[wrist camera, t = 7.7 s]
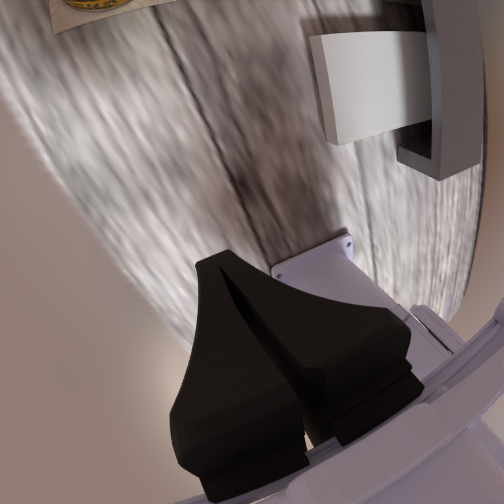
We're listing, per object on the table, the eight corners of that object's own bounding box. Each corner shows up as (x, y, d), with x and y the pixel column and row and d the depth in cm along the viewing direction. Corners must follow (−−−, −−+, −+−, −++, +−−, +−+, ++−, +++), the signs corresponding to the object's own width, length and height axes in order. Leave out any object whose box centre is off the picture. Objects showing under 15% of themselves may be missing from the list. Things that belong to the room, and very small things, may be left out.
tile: (429, 110, 25) (445, 115, 23) (322, 139, 23) (338, 146, 21) (422, 31, 20) (439, 33, 19) (304, 36, 18) (320, 35, 16)
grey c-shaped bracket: (441, 146, 27) (479, 163, 23) (397, 161, 26) (439, 181, 22) (431, -6, 18) (474, -5, 14) (379, -15, 16) (427, -20, 12)
